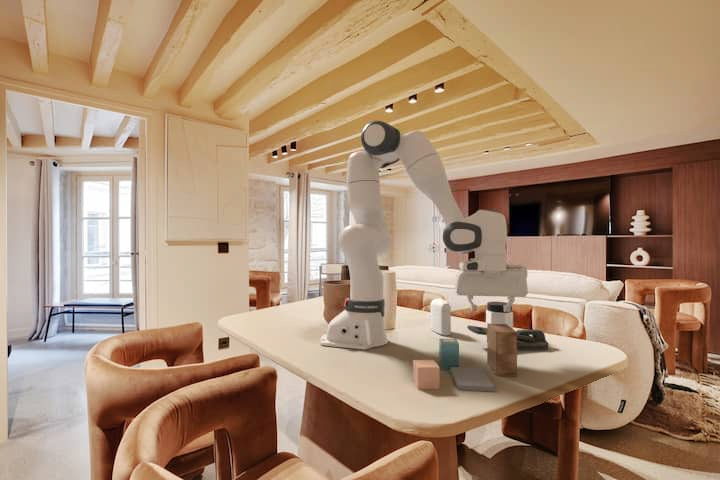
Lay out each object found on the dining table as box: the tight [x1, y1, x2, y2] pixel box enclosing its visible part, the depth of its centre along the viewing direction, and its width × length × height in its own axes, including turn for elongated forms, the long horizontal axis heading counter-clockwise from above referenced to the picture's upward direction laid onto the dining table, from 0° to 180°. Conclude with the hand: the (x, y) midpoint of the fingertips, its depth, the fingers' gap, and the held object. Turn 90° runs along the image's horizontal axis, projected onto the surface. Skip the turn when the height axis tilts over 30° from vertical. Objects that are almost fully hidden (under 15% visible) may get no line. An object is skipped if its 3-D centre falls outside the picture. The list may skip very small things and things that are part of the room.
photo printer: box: [430, 298, 452, 337], centre depth 132 cm, size 10×4×12 cm, turn 14°
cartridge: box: [438, 338, 460, 371], centre depth 95 cm, size 4×4×7 cm
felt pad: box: [449, 366, 495, 392], centre depth 86 cm, size 8×12×1 cm, turn 174°
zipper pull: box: [466, 325, 549, 352], centre depth 114 cm, size 9×7×25 cm
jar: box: [485, 301, 514, 337], centre depth 126 cm, size 9×8×12 cm
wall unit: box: [486, 324, 518, 377], centre depth 94 cm, size 5×10×11 cm, turn 174°
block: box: [412, 359, 441, 390], centre depth 83 cm, size 5×5×5 cm
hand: (490, 311), depth 105 cm, fingers open, 8 cm apart
